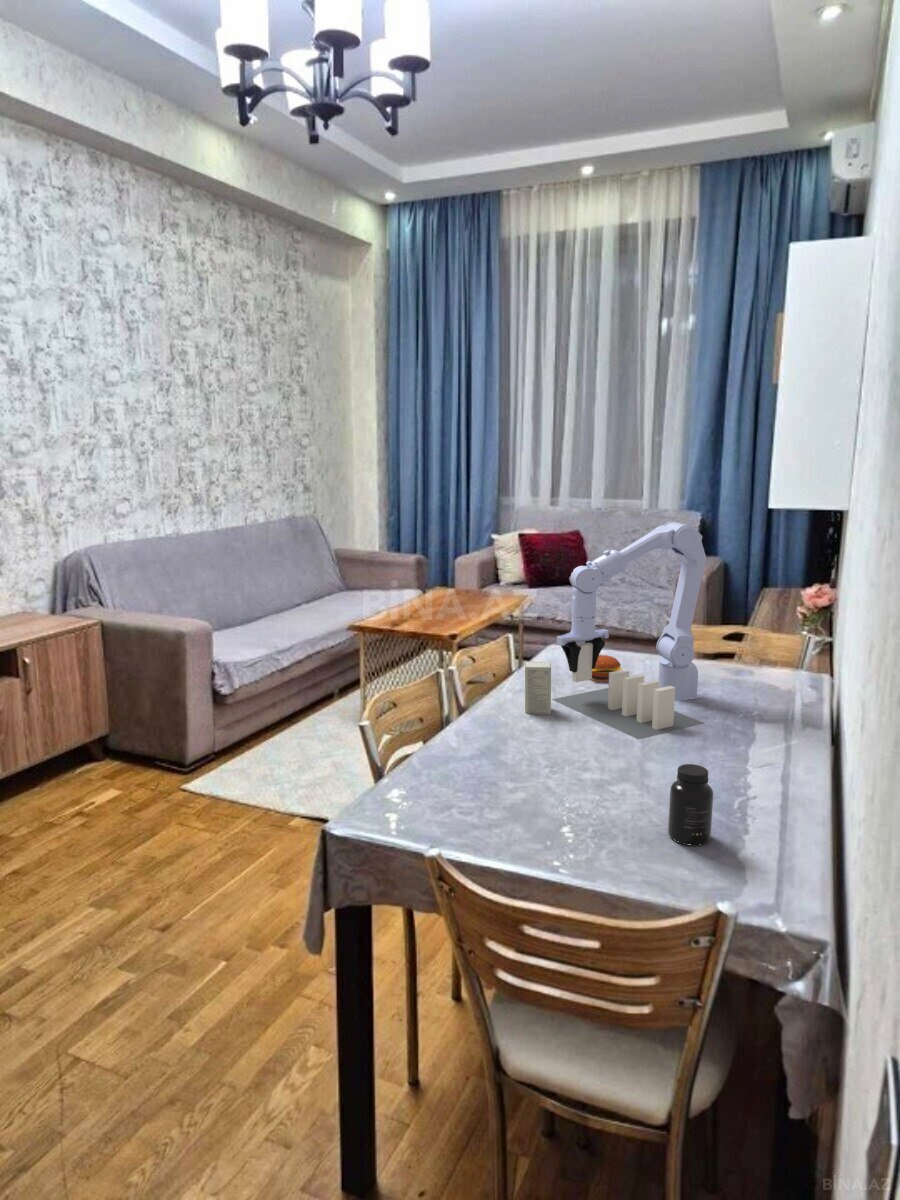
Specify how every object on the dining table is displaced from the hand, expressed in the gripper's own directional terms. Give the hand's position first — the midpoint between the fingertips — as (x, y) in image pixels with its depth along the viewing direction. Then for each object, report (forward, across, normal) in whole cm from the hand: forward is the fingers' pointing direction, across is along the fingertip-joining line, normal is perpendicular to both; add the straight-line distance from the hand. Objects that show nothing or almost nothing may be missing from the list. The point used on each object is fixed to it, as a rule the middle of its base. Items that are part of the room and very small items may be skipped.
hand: (582, 669), depth 201 cm
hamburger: (+9, -17, -12) cm, 22 cm away
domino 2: (+8, -4, +9) cm, 13 cm away
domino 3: (+8, -4, +14) cm, 16 cm away
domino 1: (+3, 0, 0) cm, 3 cm away
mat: (+8, -4, +12) cm, 15 cm away
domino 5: (+8, -4, +24) cm, 26 cm away
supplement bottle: (+9, +28, +63) cm, 70 cm away
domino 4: (+8, -4, +19) cm, 21 cm away
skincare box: (+8, +14, +1) cm, 16 cm away
